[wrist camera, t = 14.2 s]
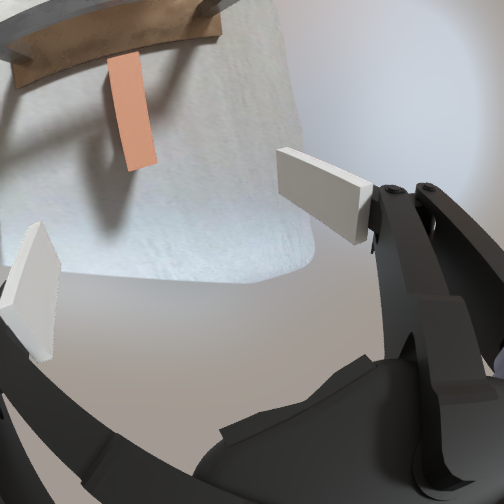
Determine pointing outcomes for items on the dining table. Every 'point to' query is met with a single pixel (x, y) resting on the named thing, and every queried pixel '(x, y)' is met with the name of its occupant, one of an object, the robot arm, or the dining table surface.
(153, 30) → the stand
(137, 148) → the c link
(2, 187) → the dining table surface
